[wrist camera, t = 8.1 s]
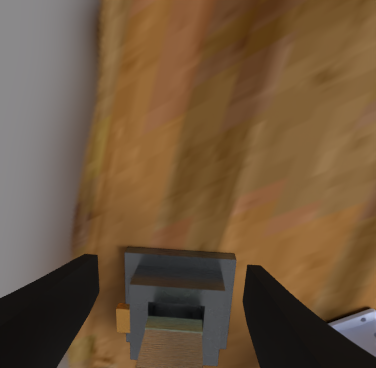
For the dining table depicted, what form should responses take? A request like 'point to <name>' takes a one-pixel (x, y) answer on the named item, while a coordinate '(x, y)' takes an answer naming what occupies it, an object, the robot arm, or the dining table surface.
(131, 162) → the dining table surface
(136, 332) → the stand base
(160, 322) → the post
